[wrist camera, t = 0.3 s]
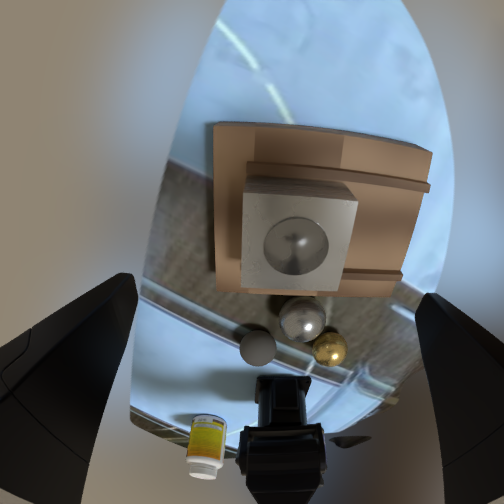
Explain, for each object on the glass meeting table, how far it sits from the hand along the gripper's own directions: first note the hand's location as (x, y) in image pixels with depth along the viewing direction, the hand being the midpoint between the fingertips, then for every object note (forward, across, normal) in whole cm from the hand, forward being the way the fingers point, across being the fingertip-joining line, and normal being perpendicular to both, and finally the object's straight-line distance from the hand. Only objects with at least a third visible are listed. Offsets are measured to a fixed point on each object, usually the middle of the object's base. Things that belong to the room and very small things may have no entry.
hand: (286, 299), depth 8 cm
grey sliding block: (+11, -1, +3) cm, 11 cm away
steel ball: (+11, -4, +12) cm, 16 cm away
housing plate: (+13, -3, +2) cm, 14 cm away
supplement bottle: (+14, +6, +39) cm, 41 cm away
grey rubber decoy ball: (+12, 0, +16) cm, 20 cm away
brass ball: (+12, -7, +16) cm, 21 cm away
